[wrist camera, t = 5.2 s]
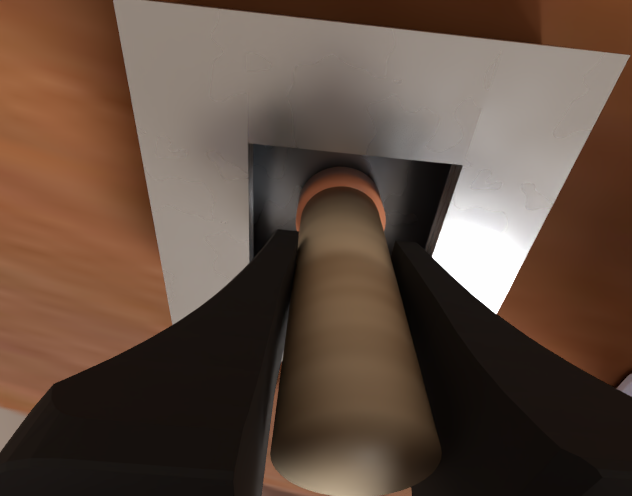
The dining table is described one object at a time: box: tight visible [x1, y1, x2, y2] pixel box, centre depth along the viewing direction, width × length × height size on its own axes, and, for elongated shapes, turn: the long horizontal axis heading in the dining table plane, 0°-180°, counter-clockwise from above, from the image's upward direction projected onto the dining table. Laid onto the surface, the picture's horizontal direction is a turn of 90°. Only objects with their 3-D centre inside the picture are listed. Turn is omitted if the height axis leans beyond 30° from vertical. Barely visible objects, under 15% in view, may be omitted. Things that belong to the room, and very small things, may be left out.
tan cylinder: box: [270, 186, 442, 496], centre depth 9 cm, size 3×3×8 cm
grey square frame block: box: [113, 0, 630, 362], centre depth 13 cm, size 12×12×4 cm
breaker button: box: [296, 167, 386, 231], centre depth 13 cm, size 3×3×1 cm
